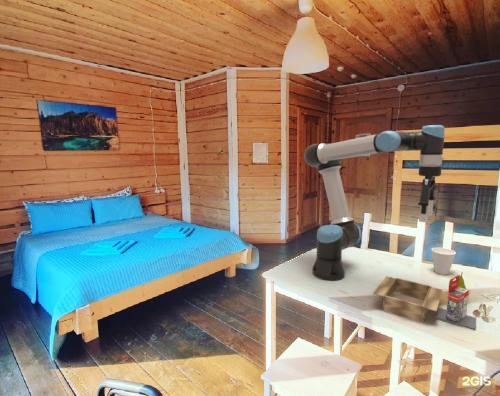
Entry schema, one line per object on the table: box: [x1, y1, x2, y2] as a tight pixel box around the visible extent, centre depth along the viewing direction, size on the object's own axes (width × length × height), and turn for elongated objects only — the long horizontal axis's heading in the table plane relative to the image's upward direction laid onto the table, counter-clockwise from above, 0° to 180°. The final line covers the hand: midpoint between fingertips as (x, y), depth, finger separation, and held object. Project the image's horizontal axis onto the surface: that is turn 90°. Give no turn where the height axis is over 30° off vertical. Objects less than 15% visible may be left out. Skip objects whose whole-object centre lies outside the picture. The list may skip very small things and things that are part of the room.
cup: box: [430, 247, 457, 276], centre depth 140 cm, size 10×10×11 cm
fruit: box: [458, 273, 470, 296], centre depth 114 cm, size 6×6×12 cm
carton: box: [372, 275, 443, 323], centre depth 112 cm, size 20×19×6 cm
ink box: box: [446, 274, 470, 323], centre depth 101 cm, size 4×8×15 cm, turn 124°
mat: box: [436, 307, 477, 331], centre depth 102 cm, size 11×8×1 cm
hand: (425, 218), depth 117 cm, fingers open, 13 cm apart
